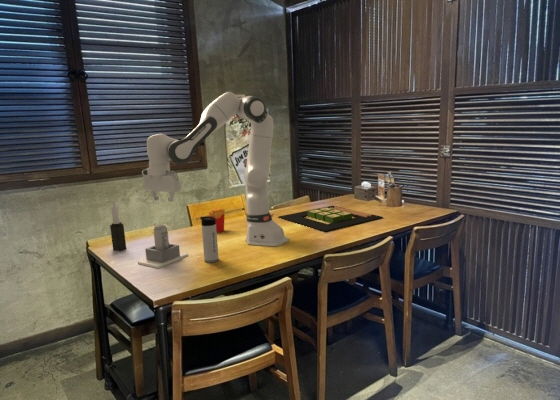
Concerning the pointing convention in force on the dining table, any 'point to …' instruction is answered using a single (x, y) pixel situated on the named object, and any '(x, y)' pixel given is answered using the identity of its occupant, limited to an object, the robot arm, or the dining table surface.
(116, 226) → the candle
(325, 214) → the sushi set
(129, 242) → the dining table surface
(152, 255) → the housing
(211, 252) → the travel mug
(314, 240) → the dining table surface
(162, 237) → the energy drink can
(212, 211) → the french fries
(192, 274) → the dining table surface
